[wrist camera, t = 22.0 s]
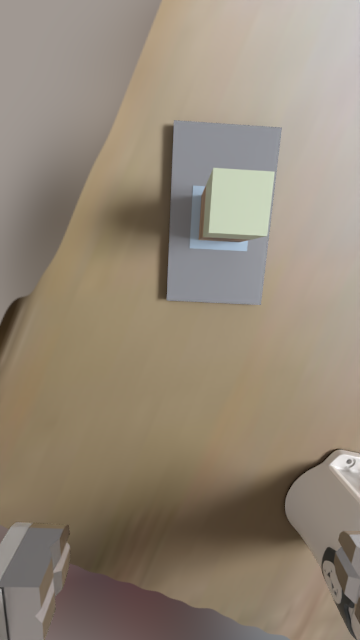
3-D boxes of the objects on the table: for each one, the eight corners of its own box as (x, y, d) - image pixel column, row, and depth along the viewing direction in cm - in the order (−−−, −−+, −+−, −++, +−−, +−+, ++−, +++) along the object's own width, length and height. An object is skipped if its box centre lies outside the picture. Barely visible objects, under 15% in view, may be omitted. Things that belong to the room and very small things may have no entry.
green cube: (256, 187, 27) (274, 171, 22) (251, 239, 28) (267, 235, 23) (206, 184, 27) (213, 167, 22) (202, 237, 28) (208, 232, 23)
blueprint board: (277, 132, 32) (282, 127, 30) (257, 303, 36) (261, 304, 35) (174, 125, 31) (174, 119, 30) (166, 298, 36) (166, 300, 34)
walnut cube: (244, 197, 32) (256, 187, 27) (239, 242, 33) (251, 239, 28) (201, 195, 32) (206, 184, 27) (198, 240, 33) (202, 236, 28)
